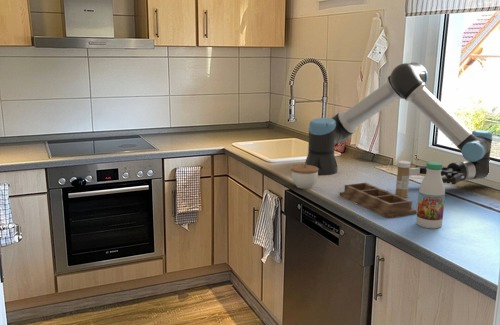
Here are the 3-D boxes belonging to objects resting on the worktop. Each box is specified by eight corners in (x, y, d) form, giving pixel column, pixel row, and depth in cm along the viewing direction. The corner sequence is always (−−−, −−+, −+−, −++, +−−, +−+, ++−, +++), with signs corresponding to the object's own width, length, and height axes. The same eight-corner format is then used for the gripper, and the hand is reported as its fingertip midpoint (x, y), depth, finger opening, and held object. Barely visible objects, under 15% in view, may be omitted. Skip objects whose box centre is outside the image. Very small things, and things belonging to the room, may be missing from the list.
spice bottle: (393, 194, 189) (395, 160, 186) (405, 194, 189) (407, 160, 186) (397, 198, 184) (400, 163, 181) (409, 198, 185) (412, 162, 182)
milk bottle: (412, 220, 160) (417, 160, 156) (435, 220, 161) (441, 160, 156) (421, 229, 153) (427, 166, 148) (446, 229, 153) (452, 166, 149)
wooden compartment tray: (339, 195, 187) (339, 184, 186) (365, 192, 192) (366, 181, 191) (387, 218, 162) (388, 206, 161) (416, 213, 167) (417, 201, 166)
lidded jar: (300, 181, 207) (301, 159, 204) (322, 186, 200) (323, 163, 198) (285, 187, 198) (286, 164, 196) (308, 191, 192) (309, 168, 190)
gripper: (485, 188, 186) (442, 194, 177) (435, 173, 208) (395, 178, 200) (487, 169, 184) (444, 174, 176) (437, 156, 206) (397, 160, 198)
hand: (418, 176), depth 188 cm, fingers open, 13 cm apart
